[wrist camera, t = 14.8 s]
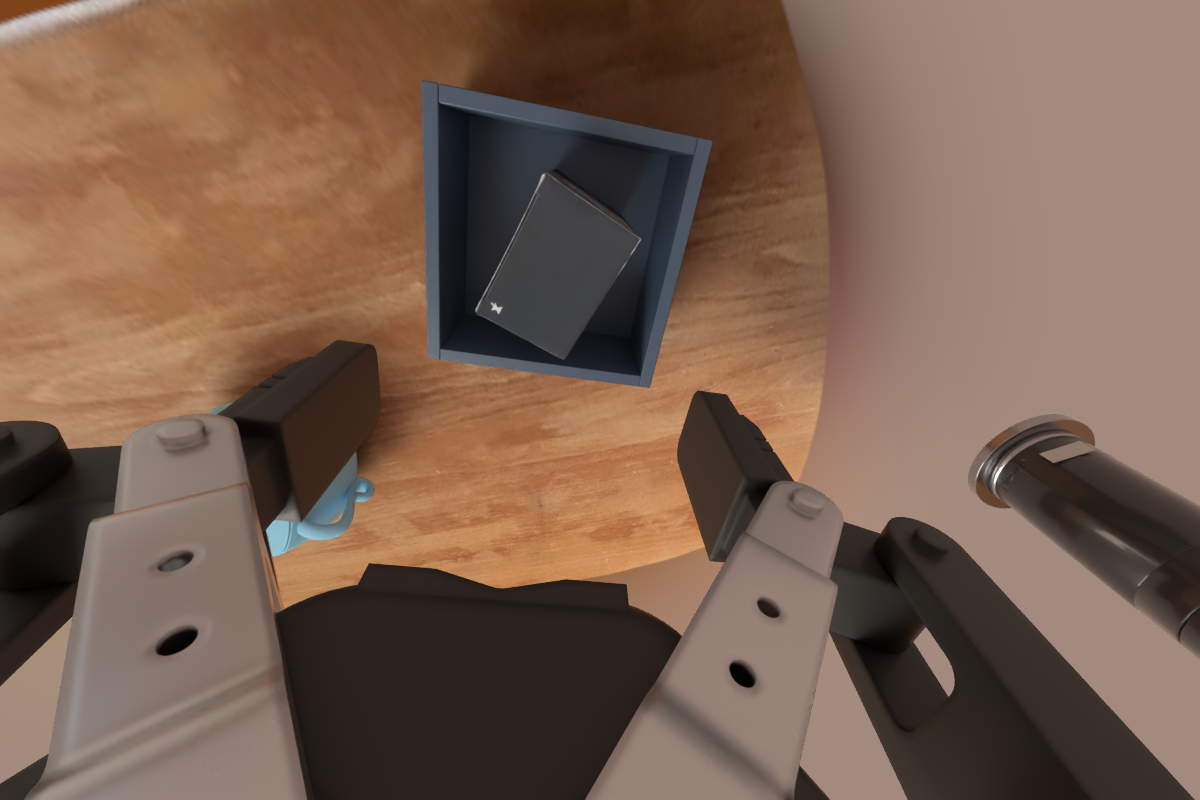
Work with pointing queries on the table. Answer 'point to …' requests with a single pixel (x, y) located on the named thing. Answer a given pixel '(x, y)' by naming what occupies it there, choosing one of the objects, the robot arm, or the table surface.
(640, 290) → the tub
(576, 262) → the box
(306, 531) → the teapot
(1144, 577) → the robot arm
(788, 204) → the table surface
